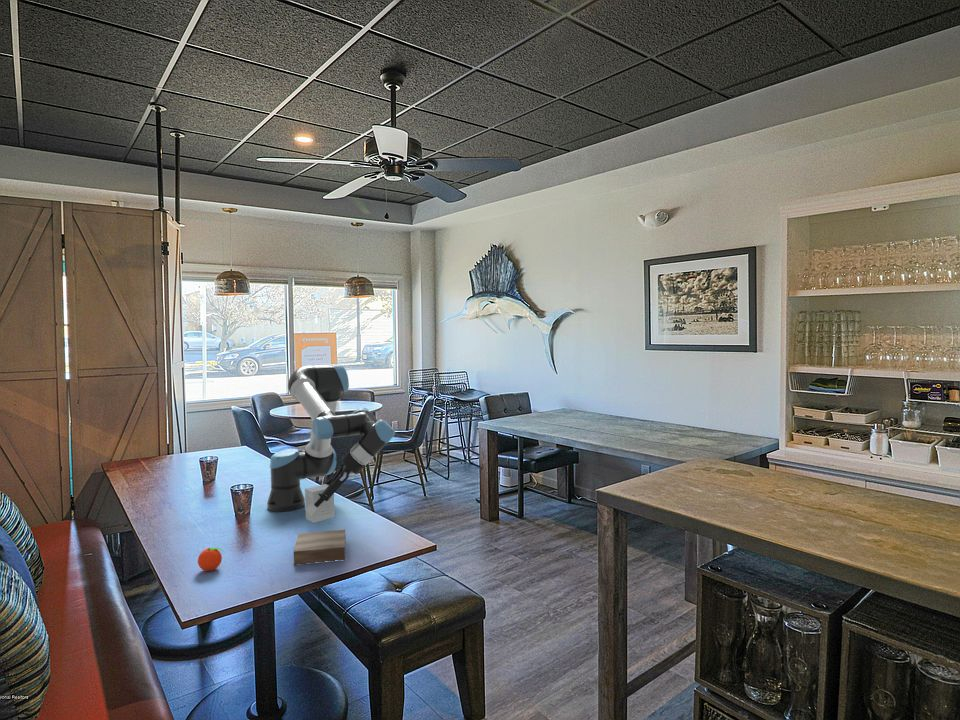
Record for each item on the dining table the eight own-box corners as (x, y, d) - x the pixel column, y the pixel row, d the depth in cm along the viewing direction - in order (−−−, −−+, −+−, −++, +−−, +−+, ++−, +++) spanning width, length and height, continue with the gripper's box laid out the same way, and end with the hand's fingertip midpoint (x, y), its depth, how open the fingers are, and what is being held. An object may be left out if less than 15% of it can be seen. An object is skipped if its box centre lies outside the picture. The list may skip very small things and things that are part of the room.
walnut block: (298, 547, 200) (298, 533, 200) (345, 543, 204) (345, 529, 203) (294, 566, 185) (293, 551, 184) (344, 561, 188) (344, 547, 188)
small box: (326, 513, 198) (325, 483, 197) (335, 517, 194) (334, 486, 193) (305, 519, 192) (304, 488, 192) (313, 523, 188) (312, 491, 188)
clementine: (225, 563, 187) (224, 541, 186) (226, 571, 181) (225, 549, 180) (197, 568, 183) (196, 546, 182) (198, 576, 177) (197, 554, 176)
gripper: (365, 474, 184) (315, 526, 182) (365, 458, 206) (320, 504, 204) (348, 458, 183) (297, 511, 181) (349, 444, 204) (304, 491, 202)
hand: (309, 507), depth 192 cm, fingers closed on small box, 9 cm apart
